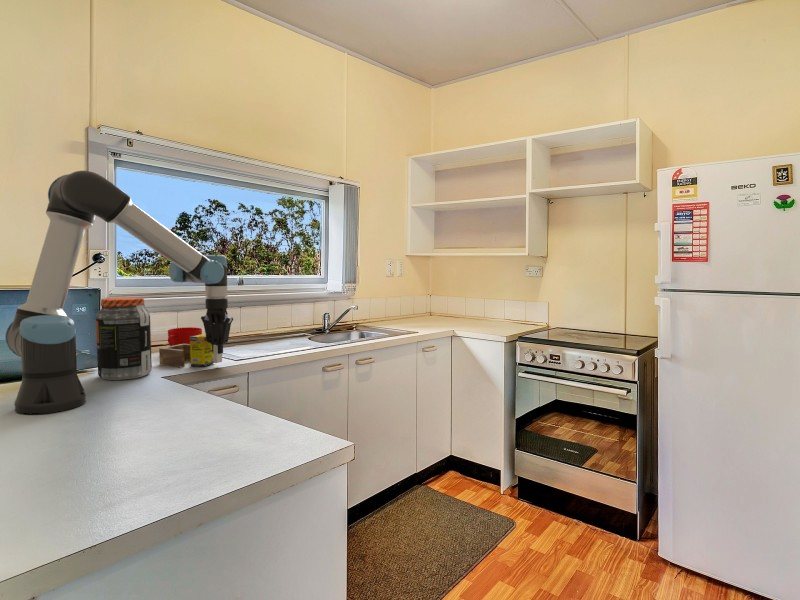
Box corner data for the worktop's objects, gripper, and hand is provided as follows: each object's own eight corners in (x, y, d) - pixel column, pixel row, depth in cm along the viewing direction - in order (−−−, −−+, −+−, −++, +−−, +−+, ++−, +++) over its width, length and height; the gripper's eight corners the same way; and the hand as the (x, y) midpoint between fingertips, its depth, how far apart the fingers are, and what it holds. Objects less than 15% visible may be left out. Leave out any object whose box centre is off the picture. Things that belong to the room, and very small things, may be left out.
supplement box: (205, 366, 176) (203, 337, 175) (190, 366, 177) (189, 336, 176) (214, 363, 182) (213, 334, 181) (200, 363, 183) (199, 334, 182)
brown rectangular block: (181, 367, 176) (181, 350, 175) (159, 364, 179) (159, 348, 179) (205, 361, 186) (204, 345, 186) (184, 358, 190) (183, 343, 190)
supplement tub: (162, 372, 166) (160, 297, 164) (122, 383, 152) (119, 301, 150) (128, 368, 172) (125, 296, 170) (86, 378, 157) (82, 299, 155)
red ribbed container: (154, 357, 192) (153, 332, 191) (181, 349, 208) (180, 326, 208) (184, 359, 190) (183, 333, 189) (208, 351, 206) (208, 328, 205)
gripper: (238, 297, 176) (239, 361, 178) (210, 296, 181) (211, 358, 183) (223, 299, 169) (224, 365, 171) (194, 297, 174) (196, 362, 176)
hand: (217, 362), depth 177 cm, fingers closed
